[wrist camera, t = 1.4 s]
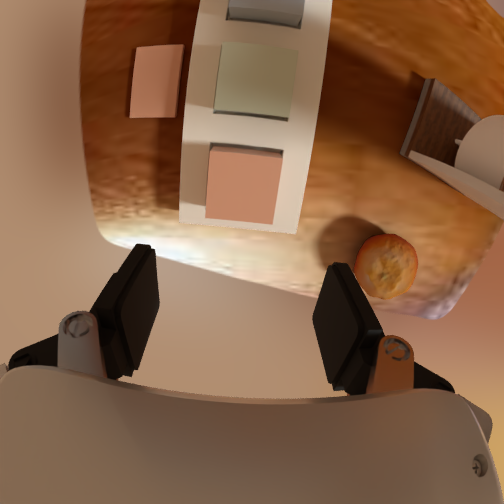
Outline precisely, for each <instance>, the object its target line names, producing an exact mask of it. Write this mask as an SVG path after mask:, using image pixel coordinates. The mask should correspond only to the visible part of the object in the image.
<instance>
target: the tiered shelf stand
mask: <svg viewBox="0 0 504 504" xmlns="http://www.w3.org/2000/svg"><path fill="white" fill-rule="evenodd" d="M399 154H401V155H402V156H404V157H406V158H408V159H409V160H411V161H413V162H414V163H416V164H418V165H419V166H421V167H422V168H424V169H426V170H427V171H429V172H430V173H432V174H433V175H435V176H436V177H438V178H439V179H441V180H442V181H444V182H445V183H447V184H448V185H449V186H451V187H452V188H454V189H455V190H457V191H458V192H460V193H462V194H463V195H465V196H467V197H469V198H470V199H472V200H474V201H475V202H477V203H478V204H480V205H482V206H483V207H485V208H486V209H488V210H489V211H491V212H493V213H494V214H496V215H497V216H498V217H500V218H501V219H503V220H504V115H493V116H489V117H486V118H484V119H481V118H480V117H479V116H478V115H477V114H476V113H475V112H473V111H472V110H471V109H470V108H469V107H468V106H467V105H466V104H465V103H464V102H463V101H462V100H461V99H459V98H458V97H457V96H456V95H455V94H454V93H453V92H451V91H450V90H449V89H448V88H447V87H445V86H444V85H443V84H442V83H440V82H439V81H438V80H437V79H425V83H424V86H423V89H422V92H421V95H420V98H419V101H418V104H417V107H416V110H415V113H414V116H413V119H412V122H411V124H410V127H409V130H408V132H407V135H406V138H405V140H404V143H403V145H402V148H401V151H400V153H399Z"/></svg>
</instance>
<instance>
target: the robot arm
mask: <svg viewBox="0 0 504 504" xmlns="http://www.w3.org/2000/svg"><path fill="white" fill-rule="evenodd" d="M159 303H160V301H159V291H158V281H157V268H156V253H155V249H151V246H150V245H145V244H136V245H135V247H134V248H133V249H132V251H131V252H130V254H129V255H128V257H127V258H126V260H125V261H124V263H123V264H122V266H121V267H120V269H119V270H118V272H117V273H114V274H113V275H112V276H111V278H110V279H109V281H108V282H107V284H106V286H105V287H104V289H103V290H102V292H101V293H100V295H99V297H98V298H97V300H96V302H95V303H94V305H93V306H92V308H91V310H90V312H87V311H76V312H72V313H71V314H69V315H67V316H66V317H64V318H63V319H62V321H61V322H60V325H59V333H58V334H57V335H54V336H52V337H50V338H47V339H45V340H42V341H40V342H37V343H35V344H32V345H30V346H27V347H25V348H23V349H20V350H18V351H17V352H16V353H15V354H13V355H12V357H11V359H10V361H9V364H8V366H6V364H5V363H4V364H2V365H0V504H504V501H503V496H502V491H501V486H500V482H499V478H498V475H497V471H496V468H495V464H494V461H493V458H492V455H491V452H490V449H489V446H488V442H489V438H490V435H491V431H492V420H491V417H490V416H489V414H487V413H486V412H485V411H484V410H482V409H481V408H479V407H477V406H476V405H474V404H473V403H471V402H470V401H468V400H467V399H465V398H464V397H462V396H460V395H459V394H458V395H457V394H455V391H454V388H453V386H452V385H451V384H450V383H449V382H448V381H446V380H445V379H444V378H442V377H440V376H438V375H437V374H435V373H433V372H431V371H430V370H428V369H426V368H424V367H423V366H421V365H419V364H418V363H416V362H414V352H413V349H412V347H411V345H410V344H409V343H408V342H407V341H405V340H404V339H403V338H401V337H398V336H394V335H387V336H385V335H384V333H383V329H382V327H381V325H380V323H379V321H378V319H377V317H376V315H375V313H374V311H373V309H372V307H371V306H370V304H369V302H368V300H367V298H366V296H365V294H364V292H363V291H362V289H361V287H360V285H359V283H358V281H357V280H356V278H355V276H354V274H353V272H352V271H351V269H350V267H349V265H348V264H347V263H337V262H334V263H333V264H332V265H329V266H328V268H327V272H326V275H325V278H324V281H323V285H322V288H321V291H320V294H319V297H318V301H317V304H316V306H315V310H314V313H313V319H312V320H313V325H314V329H315V332H316V336H317V340H318V344H319V348H320V352H321V356H322V360H323V364H324V368H325V372H326V376H327V380H328V383H330V384H332V386H333V390H334V391H340V390H345V392H346V393H347V396H341V397H328V398H305V399H304V398H302V399H264V398H239V397H224V396H212V395H202V394H194V393H185V392H178V391H171V390H164V389H158V388H152V387H147V386H141V385H136V384H131V383H127V382H122V381H118V378H120V377H122V376H123V375H125V376H129V377H132V374H133V371H134V370H138V368H139V365H140V362H141V359H142V356H143V353H144V350H145V347H146V344H147V341H148V338H149V335H150V332H151V329H152V326H153V323H154V321H155V318H156V315H157V312H158V309H159Z"/></svg>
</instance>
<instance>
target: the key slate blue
mask: <svg viewBox="0 0 504 504" xmlns="http://www.w3.org/2000/svg"><path fill="white" fill-rule="evenodd" d="M304 4H305V0H230V1H229V6H228V7H229V12H230V18H238V19H250V20H260V21H268V22H275V23H282V24H288V25H293V26H297V24H298V23H299V21H300V20H301V18H302V17H303V12H304Z"/></svg>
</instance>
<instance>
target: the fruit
mask: <svg viewBox="0 0 504 504" xmlns="http://www.w3.org/2000/svg"><path fill="white" fill-rule="evenodd" d="M417 268H418V259H417V254H416V251H415V249H414V247H413V246H412V245H411V244H409V243H408V242H407V241H406V240H404V239H403V238H401V237H399V236H397V235H396V234H382V235H376V236H372V237H370V238H368V239H367V240H366V241H365V242H364V244H363V245H362V247H361V248H360V250H359V252H358V255H357V258H356V262H355V266H354V273H355V276H356V278H357V280H358V282H359V284H360V286H361V287H362V288H363V289H364V290H365V291H366V293H367V294H368V295H369V296H372V297H378V298H381V299H384V300H386V299H391V298H393V297H395V296H398V295H401V294H403V293H405V292H407V291H408V289H409V288H410V287H411V285H412V284H413V281H414V279H415V276H416V272H417Z"/></svg>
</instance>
